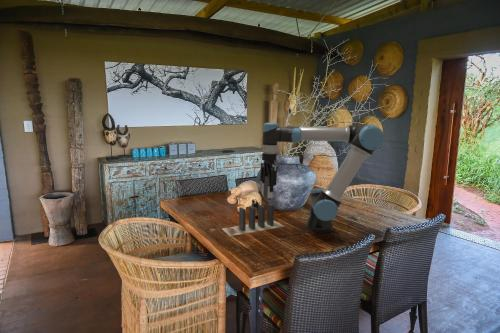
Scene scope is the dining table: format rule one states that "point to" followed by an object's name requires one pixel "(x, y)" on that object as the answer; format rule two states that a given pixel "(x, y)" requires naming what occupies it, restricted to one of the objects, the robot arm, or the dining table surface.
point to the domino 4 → (266, 187)
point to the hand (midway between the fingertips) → (267, 196)
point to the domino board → (236, 231)
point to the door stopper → (254, 206)
